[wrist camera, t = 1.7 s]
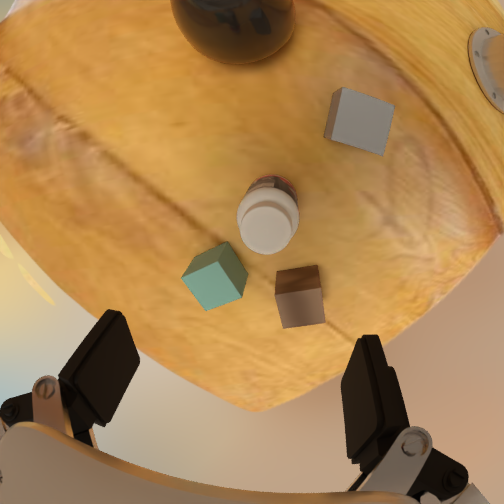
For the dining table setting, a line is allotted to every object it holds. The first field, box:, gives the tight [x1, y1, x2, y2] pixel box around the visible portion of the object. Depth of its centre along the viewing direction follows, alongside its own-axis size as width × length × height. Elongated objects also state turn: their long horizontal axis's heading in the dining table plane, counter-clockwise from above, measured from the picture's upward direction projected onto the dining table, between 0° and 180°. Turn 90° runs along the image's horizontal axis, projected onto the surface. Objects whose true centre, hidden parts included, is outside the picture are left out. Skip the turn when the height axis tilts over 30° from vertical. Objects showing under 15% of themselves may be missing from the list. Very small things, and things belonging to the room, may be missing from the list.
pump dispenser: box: [170, 0, 296, 64], centre depth 14 cm, size 10×10×15 cm
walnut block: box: [275, 265, 325, 329], centre depth 32 cm, size 5×5×5 cm
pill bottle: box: [237, 175, 299, 255], centre depth 25 cm, size 5×5×10 cm
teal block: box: [181, 242, 248, 311], centre depth 32 cm, size 5×5×5 cm
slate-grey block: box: [324, 87, 395, 156], centre depth 22 cm, size 5×5×5 cm
